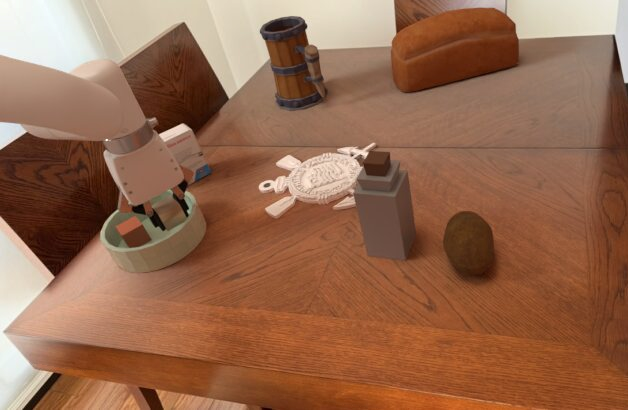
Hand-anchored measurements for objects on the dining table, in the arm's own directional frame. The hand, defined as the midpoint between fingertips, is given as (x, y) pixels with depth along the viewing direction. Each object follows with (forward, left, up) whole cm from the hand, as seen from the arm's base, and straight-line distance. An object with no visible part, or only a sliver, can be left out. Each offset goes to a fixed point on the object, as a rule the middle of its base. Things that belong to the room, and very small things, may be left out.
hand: (173, 220), depth 93 cm
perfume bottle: (+25, -33, -5) cm, 41 cm away
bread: (+81, +4, -5) cm, 81 cm away
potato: (+31, -45, -5) cm, 54 cm away
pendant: (+29, -8, -5) cm, 30 cm away
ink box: (+10, +18, -5) cm, 22 cm away
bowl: (-3, +3, -5) cm, 7 cm away
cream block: (0, 0, 0) cm, 0 cm away
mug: (+48, +26, -5) cm, 55 cm away
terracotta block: (-7, +6, -4) cm, 10 cm away
